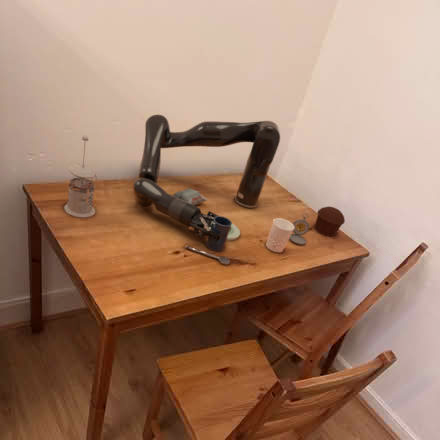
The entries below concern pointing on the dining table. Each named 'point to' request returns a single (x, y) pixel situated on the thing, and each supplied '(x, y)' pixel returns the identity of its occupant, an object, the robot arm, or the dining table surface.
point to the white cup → (279, 234)
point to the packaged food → (190, 196)
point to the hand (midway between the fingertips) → (225, 233)
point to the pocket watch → (296, 237)
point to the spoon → (221, 259)
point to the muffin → (329, 221)
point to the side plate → (232, 232)
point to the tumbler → (221, 227)
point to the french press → (81, 190)
